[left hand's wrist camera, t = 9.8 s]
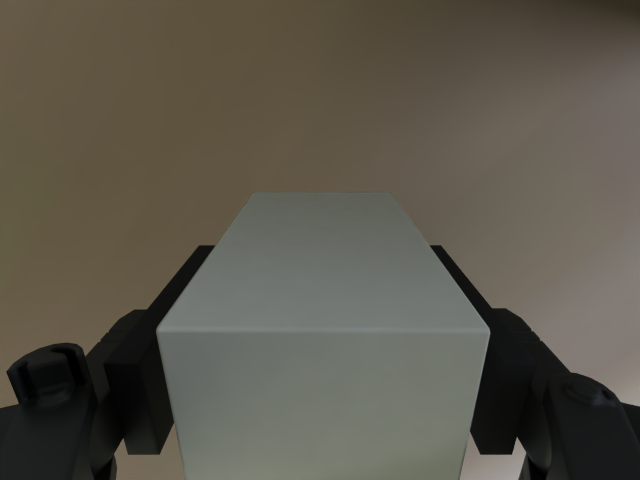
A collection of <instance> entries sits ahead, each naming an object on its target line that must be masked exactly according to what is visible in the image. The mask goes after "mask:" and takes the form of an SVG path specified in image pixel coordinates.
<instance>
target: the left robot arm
mask: <svg viewBox="0 0 640 480" xmlns="http://www.w3.org/2000/svg"><path fill="white" fill-rule="evenodd" d="M215 246H216V245H199V246H198V248H197V249H196V250H195V251H194V252H193V254H192V255H191V256H190V257H189V259H188V260H187V261H186V262H185V264H184V265H183V266H182V267H181V268H180V270H179V271H178V272H177V273H176V275H175V276H174V277H173V278H172V279H171V281H170V282H169V283H168V284H167V286H166V287H165V288H164V289H163V291H162V292H161V293H160V294H159V295H158V297H157V298H156V299H155V300H154V302H153V303H152V304H151V305H150V306H149V308H148V309H147V310H133V311H131V312H130V313H128V314H127V315H125V316H123V317H122V318H120V319H119V320H118V321H117V322H116V323H115V324H114V325H113V327H112V328H111V329H110V330H109V333H106V334H105V335H104V337H103V338H102V339H101V341H100V342H98V343H97V344H96V345H95V346H94V348H93V349H92V350H91V351H90V352H89V353H88V354H87V355H86V356H85V355H84V352H83V349H82V348H81V347H80V346H79V345H77V344H73V343H59V344H53V345H49V346H46V347H42V348H39V349H37V350H35V351H33V352H31V353H28V354H26V355H25V356H23V357H22V358H20V359H19V360H17V361H16V362H15V363H13V364H12V366H11V367H10V368H9V369H8V370H7V375H8V377H9V380H10V382H11V385H12V387H13V390H14V392H15V395H16V397H17V400H18V402H19V404H17V405H13V406H8V407H4V408H0V480H116V473H117V465H116V459H115V456H114V453H115V451H116V449H117V448H118V446H119V444H120V442H121V441H122V439H123V438H124V442H125V445H126V449H127V452H128V455H160V453H161V450H162V448H163V446H164V444H165V441H166V439H167V437H168V435H169V432H170V430H171V428H172V426H173V424H174V419H173V414H172V409H171V404H170V399H169V394H168V389H167V384H166V379H165V374H164V369H163V364H162V359H161V354H160V349H159V344H158V339H157V334H156V330H157V327H158V325H159V324H160V323H161V321H162V320H163V318H164V317H165V316H166V314H167V313H168V311H169V310H170V309H171V307H172V306H173V304H174V303H175V302H176V300H177V299H178V297H179V296H180V295H181V293H182V292H183V290H184V289H185V288H186V286H187V285H188V283H189V282H190V281H191V279H192V278H193V276H194V275H195V274H196V272H197V271H198V270H199V268H200V267H201V265H202V264H203V263H204V261H205V260H206V258H207V257H208V256H209V254H210V253H211V251H212V250H213V249H214V247H215ZM429 246H430V247H431V249H432V250H433V251H434V253H435V254H436V256H437V257H438V258H439V260H440V261H441V262H442V264H443V265H444V267H445V268H446V269H447V271H448V272H449V274H450V275H451V276H452V278H453V279H454V280H455V282H456V283H457V285H458V286H459V287H460V289H461V290H462V292H463V293H464V294H465V296H466V297H467V298H468V300H469V301H470V303H471V304H472V305H473V307H474V308H475V310H476V311H477V312H478V314H479V315H480V316H481V318H482V319H483V321H484V322H485V323H486V325H487V326H488V328H489V329H490V337H489V342H488V347H487V351H486V356H485V361H484V366H483V370H482V375H481V380H480V385H479V389H478V394H477V399H476V403H475V408H474V413H473V418H472V422H471V427H470V432H471V435H472V437H473V439H474V441H475V444H476V446H477V448H478V450H479V453H480V455H512V452H513V449H514V445H515V441H516V438H517V437H518V439H519V441H520V442H521V444H522V446H523V447H524V449H525V451H526V456H525V459H524V463H523V466H522V469H521V473H520V476H519V479H518V480H640V407H639V406H635V405H630V404H626V403H622V402H620V401H619V399H618V398H617V397H616V395H615V394H614V393H613V392H612V391H610V390H609V389H608V388H607V387H605V386H604V385H603V384H601V383H599V382H597V381H595V380H593V379H592V378H589V377H586V376H583V375H580V374H577V373H571V372H570V371H569V370H568V369H567V368H566V367H565V366H564V365H563V363H562V362H561V361H560V360H559V359H558V358H557V357H556V356H555V355H554V354H553V352H552V351H551V350H550V349H549V348H548V347H547V346H546V345H545V344H544V343H543V342H542V341H540V338H539V337H538V336H537V335H536V334H535V333H534V332H533V331H531V328H530V327H529V326H528V325H527V324H526V323H525V322H524V321H523V320H522V318H520V317H519V316H517V315H515V314H514V313H512V312H511V311H509V310H507V309H506V308H491V306H490V305H489V304H488V303H487V302H486V300H485V299H484V298H483V297H482V295H481V294H480V293H479V292H478V291H477V289H476V288H475V287H474V286H473V284H472V283H471V282H470V281H469V279H468V278H467V277H466V276H465V275H464V273H463V272H462V271H461V270H460V268H459V267H458V266H457V265H456V264H455V262H454V261H453V260H452V259H451V257H450V256H449V255H448V254H447V252H446V251H445V250H444V249H443V248H442V246H441V245H429Z"/></svg>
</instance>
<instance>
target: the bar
mask: <svg viewBox="0 0 640 480" xmlns="http://www.w3.org/2000/svg"><path fill="white" fill-rule="evenodd" d="M156 334H157V339H158V344H159V349H160V354H161V359H162V364H163V369H164V374H165V379H166V384H167V389H168V394H169V399H170V404H171V409H172V414H173V419H174V424H175V429H176V434H177V439H178V444H179V449H180V454H181V459H182V464H183V469H184V474H185V479H186V480H459V479H460V474H461V470H462V465H463V460H464V455H465V451H466V446H467V441H468V437H469V432H470V427H471V422H472V418H473V413H474V408H475V403H476V399H477V394H478V389H479V385H480V380H481V375H482V370H483V366H484V361H485V356H486V351H487V347H488V342H489V337H490V329H489V328H488V326H487V325H486V323H485V322H484V321H483V319H482V318H481V316H480V315H479V314H478V312H477V311H476V310H475V308H474V307H473V305H472V304H471V303H470V301H469V300H468V298H467V297H466V296H465V294H464V293H463V292H462V290H461V289H460V287H459V286H458V285H457V283H456V282H455V280H454V279H453V278H452V276H451V275H450V274H449V272H448V271H447V269H446V268H445V267H444V265H443V264H442V262H441V261H440V260H439V258H438V257H437V256H436V254H435V253H434V251H433V250H432V249H431V247H430V246H429V245H428V243H427V242H426V240H425V239H424V238H423V236H422V235H421V233H420V232H419V231H418V229H417V228H416V227H415V225H414V224H413V222H412V221H411V220H410V218H409V217H408V215H407V214H406V213H405V211H404V210H403V209H402V207H401V206H400V204H399V203H398V202H397V200H396V199H395V197H394V196H393V195H392V193H381V192H254V193H253V194H252V195H251V197H250V198H249V200H248V201H247V202H246V204H245V205H244V207H243V208H242V209H241V211H240V212H239V214H238V215H237V216H236V218H235V219H234V221H233V222H232V223H231V225H230V226H229V228H228V229H227V230H226V232H225V233H224V235H223V236H222V237H221V239H220V240H219V242H218V243H217V244H216V246H215V247H214V249H213V250H212V251H211V253H210V254H209V256H208V257H207V258H206V260H205V261H204V263H203V264H202V265H201V267H200V268H199V270H198V271H197V272H196V274H195V275H194V276H193V278H192V279H191V281H190V282H189V283H188V285H187V286H186V288H185V289H184V290H183V292H182V293H181V295H180V296H179V297H178V299H177V300H176V302H175V303H174V304H173V306H172V307H171V309H170V310H169V311H168V313H167V314H166V316H165V317H164V318H163V320H162V321H161V323H160V324H159V325H158V327H157V330H156Z"/></svg>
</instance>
